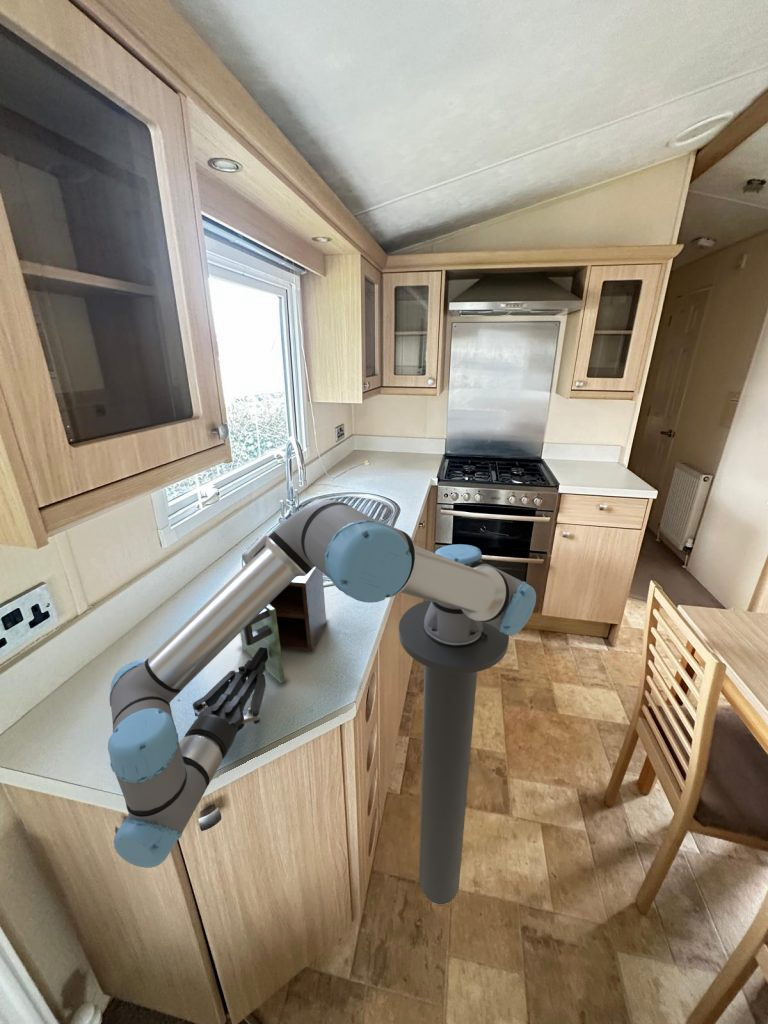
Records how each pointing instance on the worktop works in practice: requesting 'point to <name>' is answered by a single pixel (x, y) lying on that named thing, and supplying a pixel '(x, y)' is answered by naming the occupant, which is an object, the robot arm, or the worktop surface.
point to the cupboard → (301, 612)
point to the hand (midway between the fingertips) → (264, 652)
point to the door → (265, 640)
